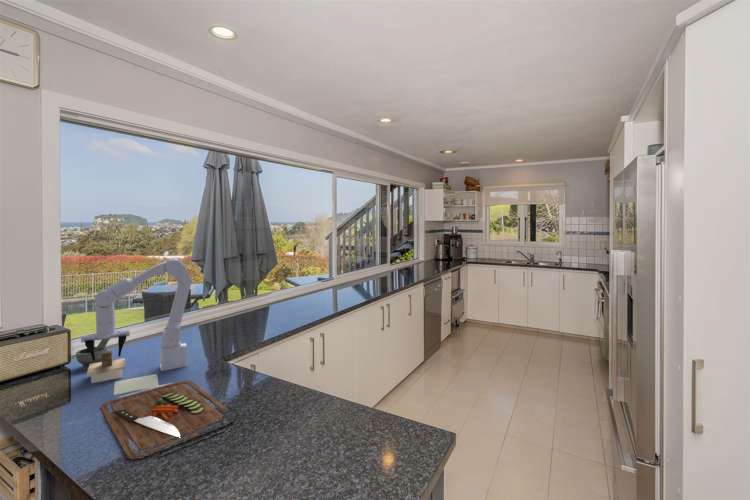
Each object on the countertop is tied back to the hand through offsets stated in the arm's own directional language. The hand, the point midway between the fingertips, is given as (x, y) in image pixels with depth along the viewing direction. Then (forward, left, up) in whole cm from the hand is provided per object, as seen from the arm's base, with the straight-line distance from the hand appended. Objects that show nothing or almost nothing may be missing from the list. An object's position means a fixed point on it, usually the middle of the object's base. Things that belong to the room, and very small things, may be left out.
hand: (107, 357), depth 134 cm
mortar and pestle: (+5, -17, -8) cm, 19 cm away
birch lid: (0, 0, -3) cm, 4 cm away
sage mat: (-9, +14, -8) cm, 18 cm away
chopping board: (-16, +43, -8) cm, 47 cm away
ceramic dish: (0, 0, -8) cm, 8 cm away
